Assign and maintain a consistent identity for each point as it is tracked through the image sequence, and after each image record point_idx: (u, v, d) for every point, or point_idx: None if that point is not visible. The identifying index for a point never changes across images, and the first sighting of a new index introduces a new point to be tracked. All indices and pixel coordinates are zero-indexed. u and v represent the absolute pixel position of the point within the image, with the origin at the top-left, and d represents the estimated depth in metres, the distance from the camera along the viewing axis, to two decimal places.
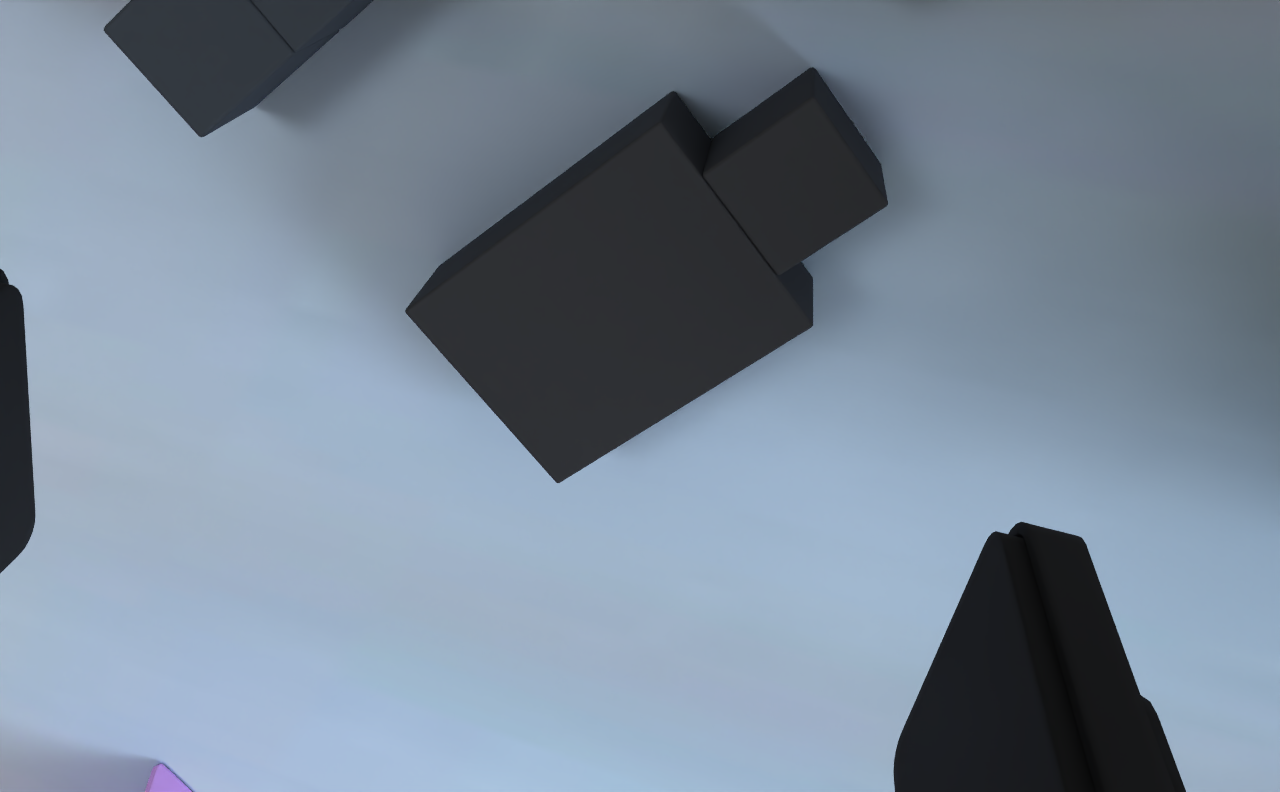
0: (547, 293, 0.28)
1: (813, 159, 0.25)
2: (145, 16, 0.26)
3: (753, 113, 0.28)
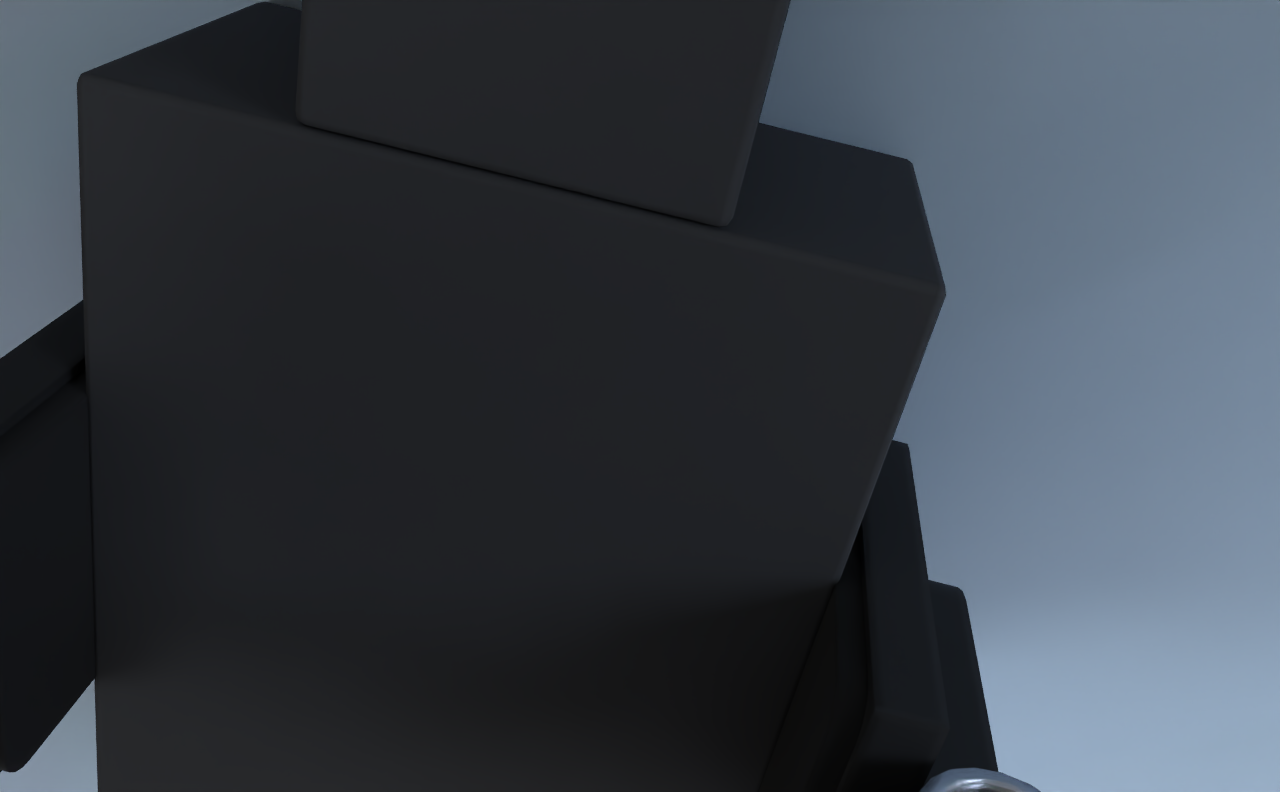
0: (280, 662, 0.10)
1: None
2: None
3: None
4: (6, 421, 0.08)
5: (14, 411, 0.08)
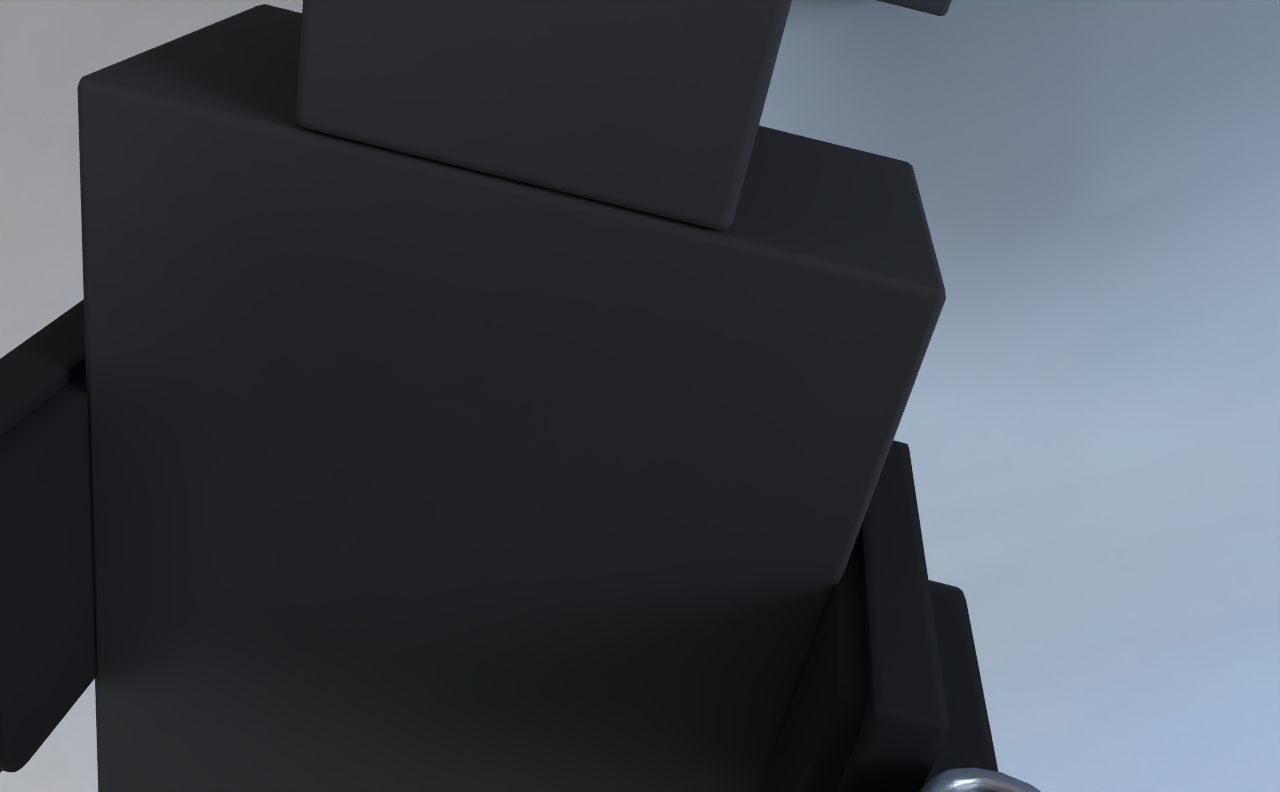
0: (280, 663, 0.10)
1: None
2: None
3: None
4: (6, 421, 0.08)
5: (14, 411, 0.08)
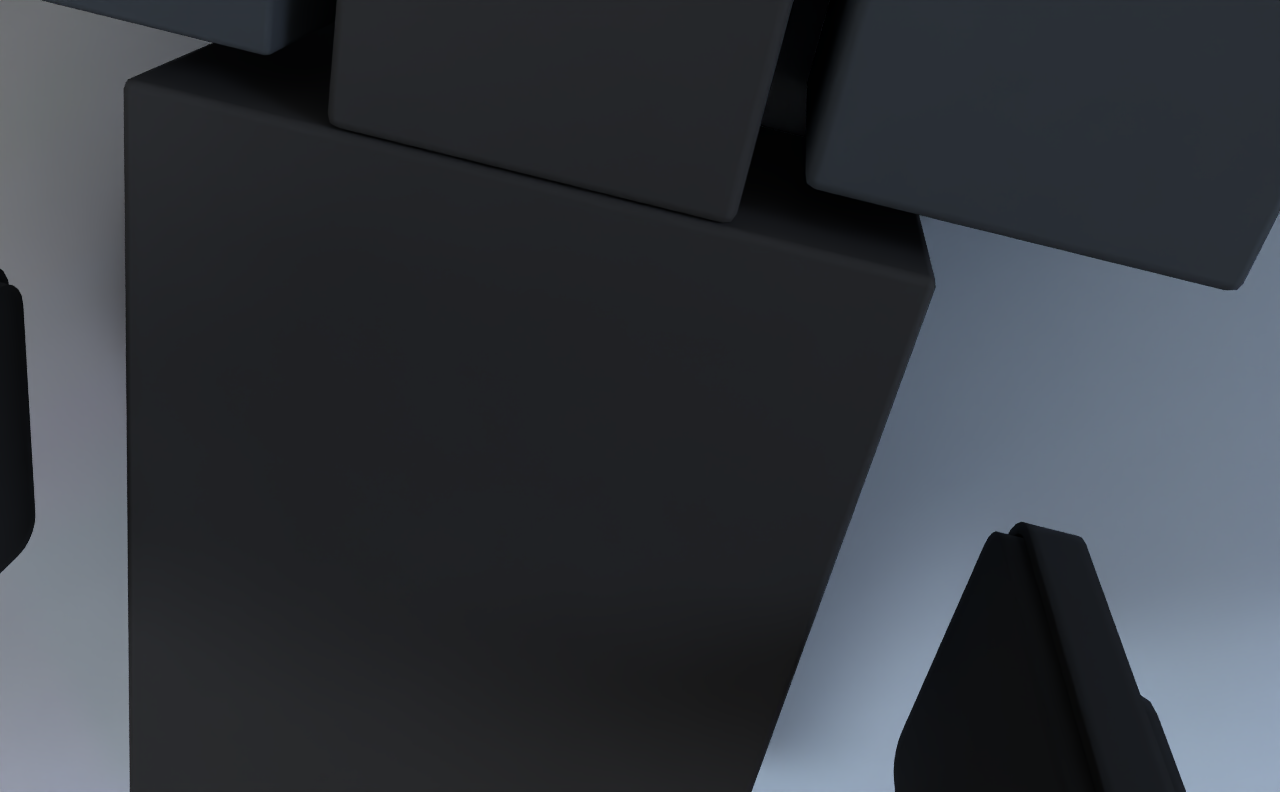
0: (306, 637, 0.10)
1: None
2: (914, 51, 0.07)
3: None
4: None
5: None
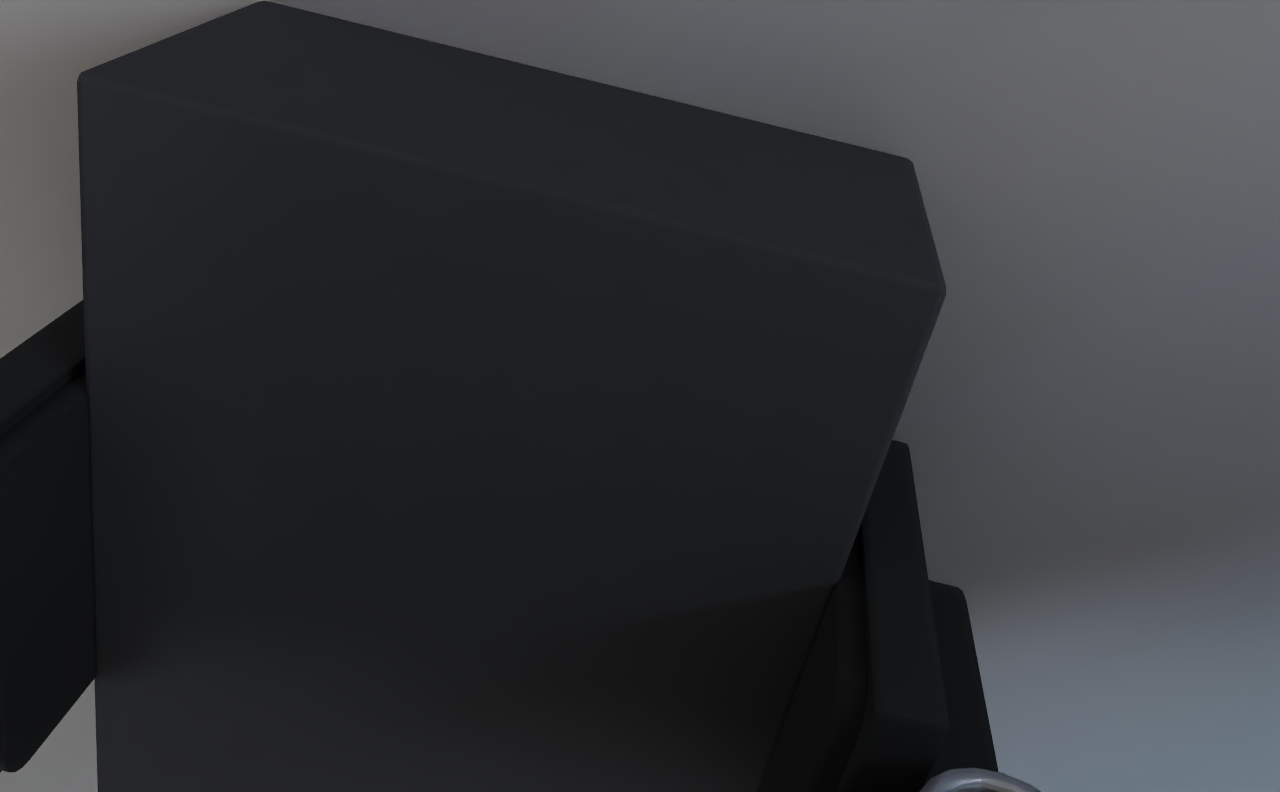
0: None
1: None
2: None
3: None
4: (6, 421, 0.08)
5: (14, 411, 0.08)
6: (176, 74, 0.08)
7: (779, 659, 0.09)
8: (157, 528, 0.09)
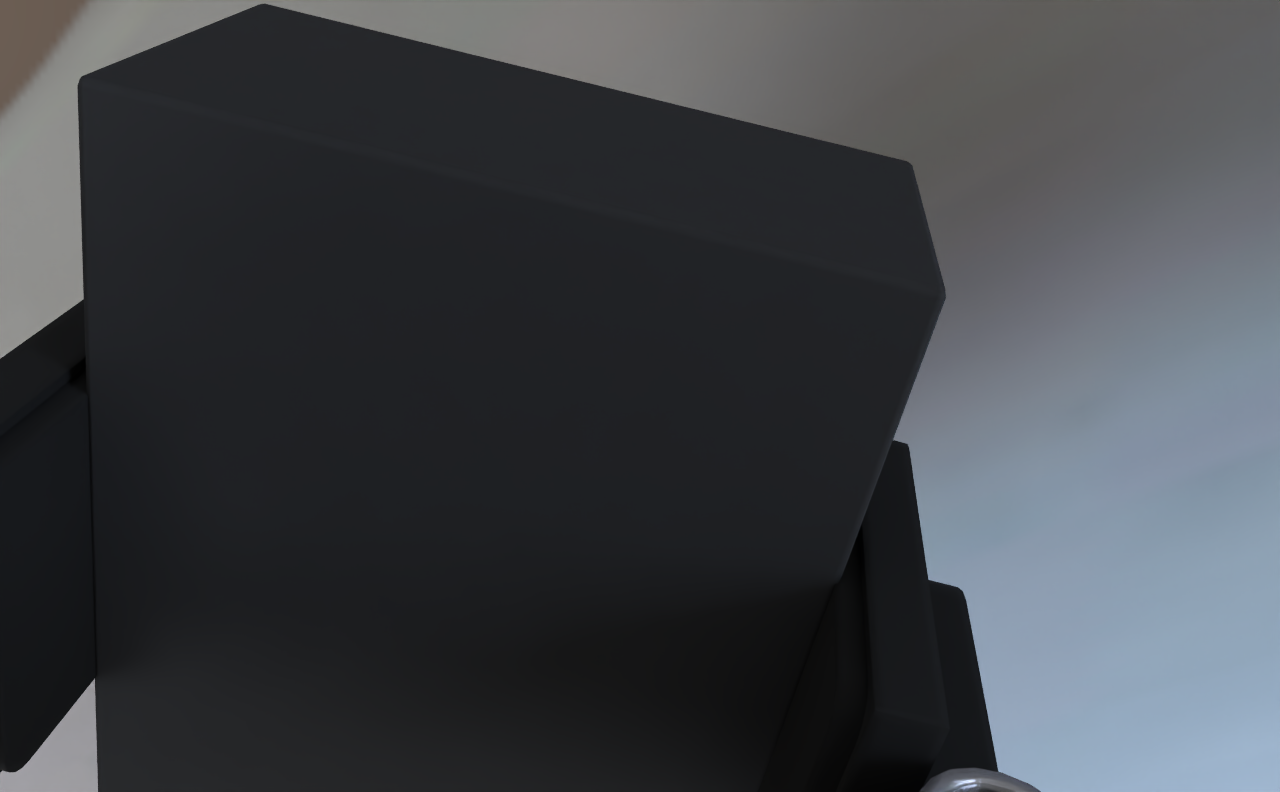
0: None
1: None
2: None
3: None
4: (7, 421, 0.08)
5: (15, 411, 0.08)
6: (177, 78, 0.08)
7: (779, 662, 0.09)
8: (158, 530, 0.09)
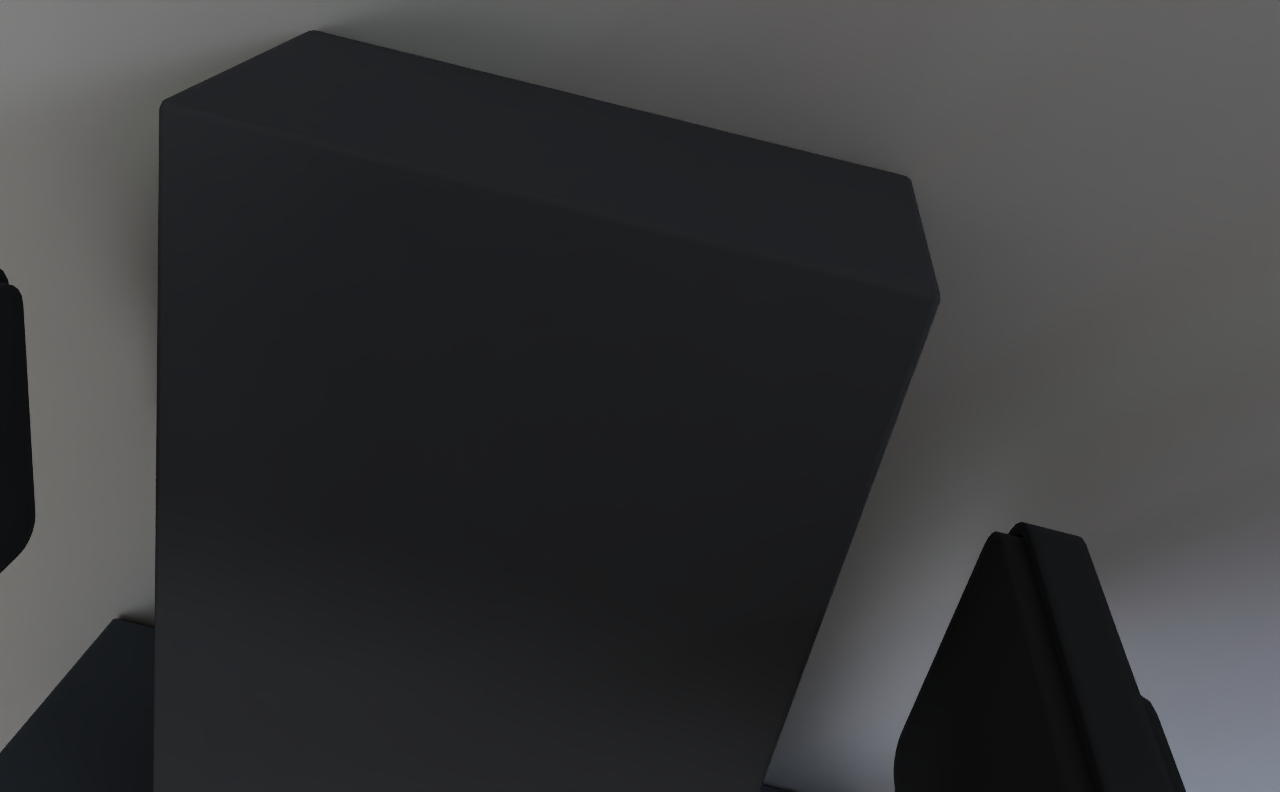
0: None
1: None
2: None
3: None
4: None
5: None
6: (247, 101, 0.09)
7: (788, 636, 0.10)
8: (219, 515, 0.10)
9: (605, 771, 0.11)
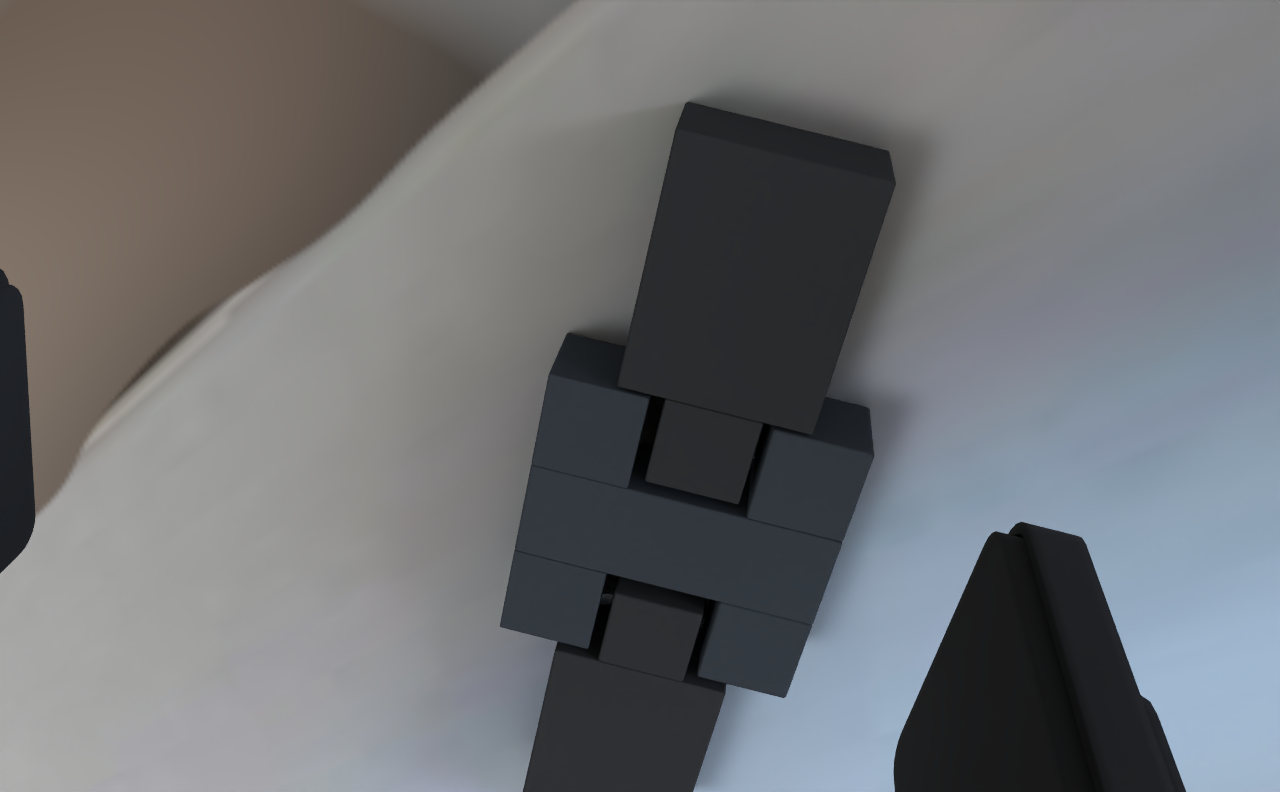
0: (578, 759, 0.42)
1: (643, 620, 0.38)
2: (717, 657, 0.39)
3: None
4: None
5: None
6: (695, 127, 0.31)
7: (850, 294, 0.32)
8: (668, 258, 0.32)
9: (787, 350, 0.33)
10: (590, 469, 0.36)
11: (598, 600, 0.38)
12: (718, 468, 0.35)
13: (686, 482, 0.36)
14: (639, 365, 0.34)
